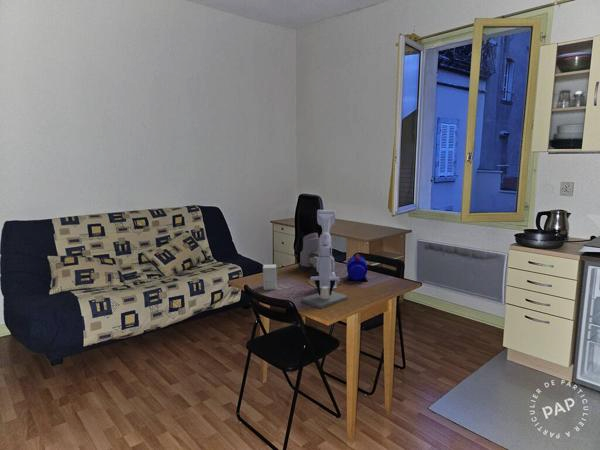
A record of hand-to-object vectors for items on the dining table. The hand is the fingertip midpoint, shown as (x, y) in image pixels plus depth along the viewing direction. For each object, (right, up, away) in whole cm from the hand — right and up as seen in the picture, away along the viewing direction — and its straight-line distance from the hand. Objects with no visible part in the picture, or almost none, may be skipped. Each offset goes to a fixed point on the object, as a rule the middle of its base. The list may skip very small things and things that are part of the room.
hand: (324, 294), depth 213 cm
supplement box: (-30, 0, +21) cm, 36 cm away
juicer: (-3, +6, +55) cm, 55 cm away
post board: (0, -3, +1) cm, 3 cm away
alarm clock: (+21, +3, +36) cm, 42 cm away
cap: (0, -1, 0) cm, 1 cm away
